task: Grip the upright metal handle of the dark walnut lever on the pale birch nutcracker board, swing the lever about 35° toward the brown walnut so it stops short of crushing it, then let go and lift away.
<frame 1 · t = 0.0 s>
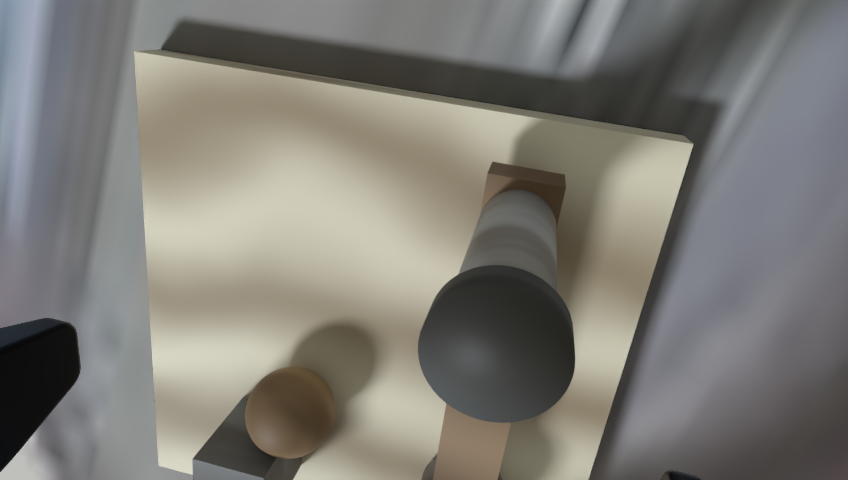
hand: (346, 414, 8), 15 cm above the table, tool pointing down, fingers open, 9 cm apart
nutcracker base: (377, 322, 25), on the table
lever: (471, 450, 18), point 7 cm above the table, hinge at 0.0°
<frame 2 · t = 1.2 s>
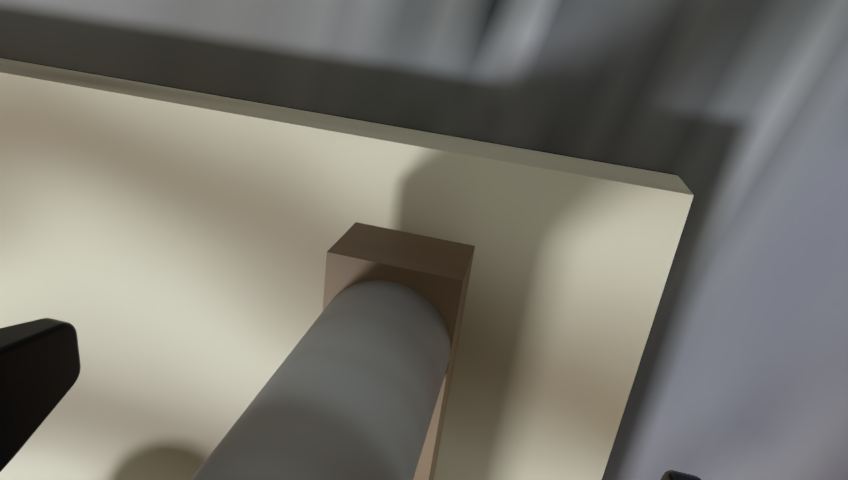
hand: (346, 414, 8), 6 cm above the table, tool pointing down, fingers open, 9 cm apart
nutcracker base: (236, 434, 17), on the table
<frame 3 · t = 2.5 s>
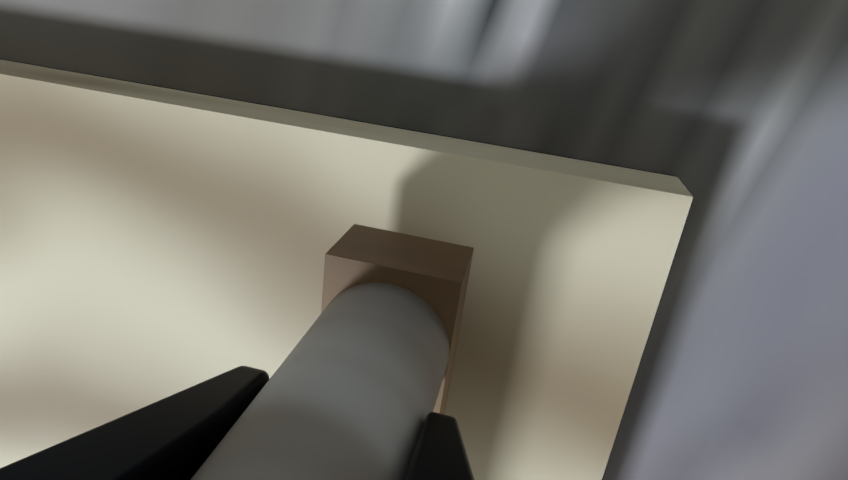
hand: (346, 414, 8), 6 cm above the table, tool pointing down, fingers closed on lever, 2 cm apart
nutcracker base: (235, 435, 17), on the table
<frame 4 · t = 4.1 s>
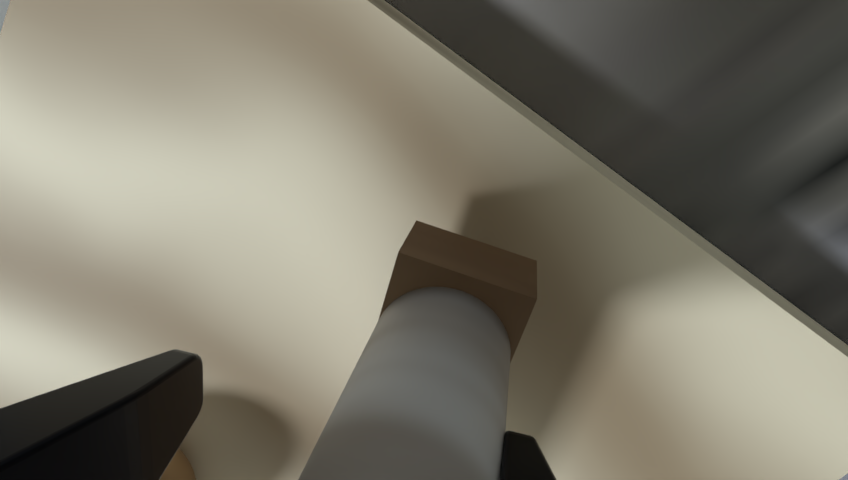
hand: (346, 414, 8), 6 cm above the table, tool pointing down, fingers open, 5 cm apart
nutcracker base: (307, 402, 16), on the table
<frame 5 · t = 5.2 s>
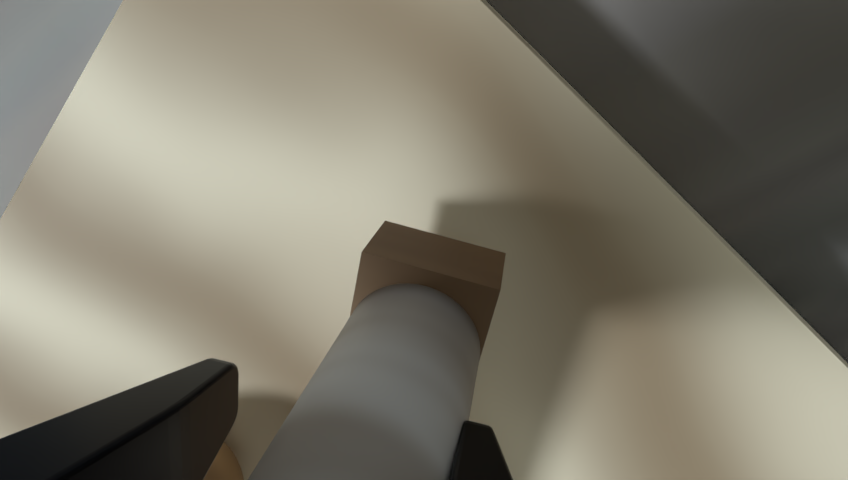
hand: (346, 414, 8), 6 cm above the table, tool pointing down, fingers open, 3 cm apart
nutcracker base: (357, 413, 16), on the table
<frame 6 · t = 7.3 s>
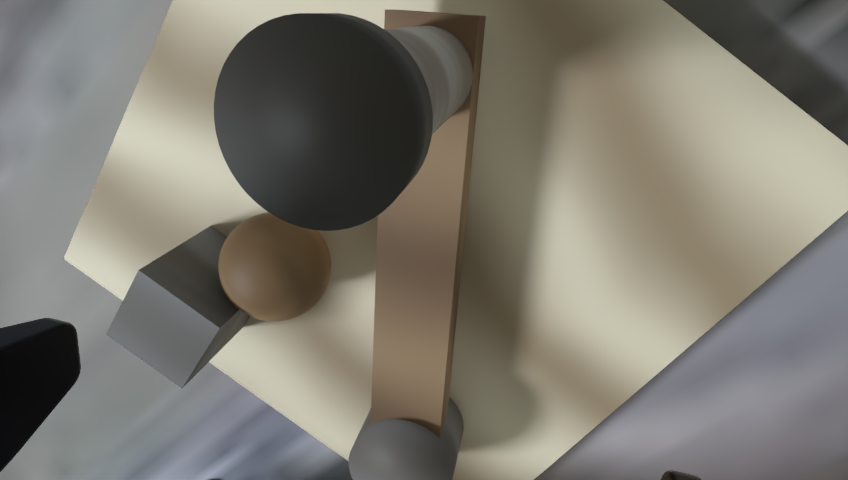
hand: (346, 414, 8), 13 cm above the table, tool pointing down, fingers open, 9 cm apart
nutcracker base: (408, 211, 21), on the table
lever: (388, 348, 15), point 7 cm above the table, hinge at 31.1°
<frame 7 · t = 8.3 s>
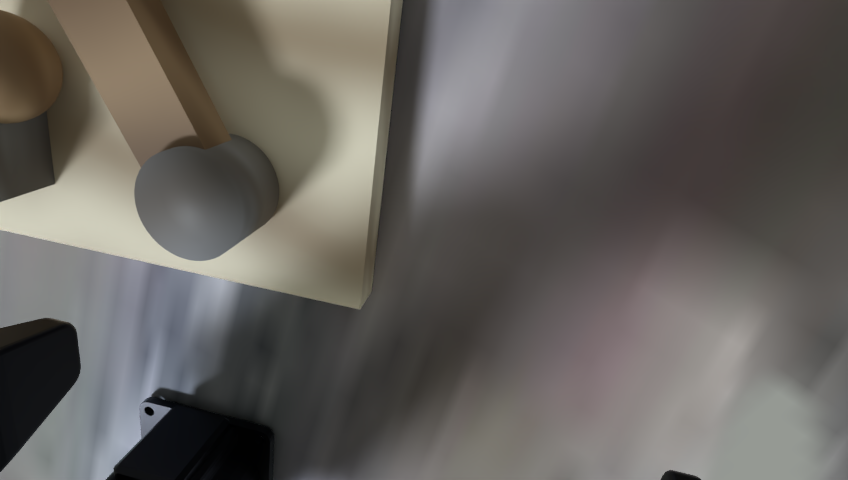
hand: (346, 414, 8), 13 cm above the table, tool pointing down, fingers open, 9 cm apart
lever: (5, 1, 14), point 7 cm above the table, hinge at 31.1°
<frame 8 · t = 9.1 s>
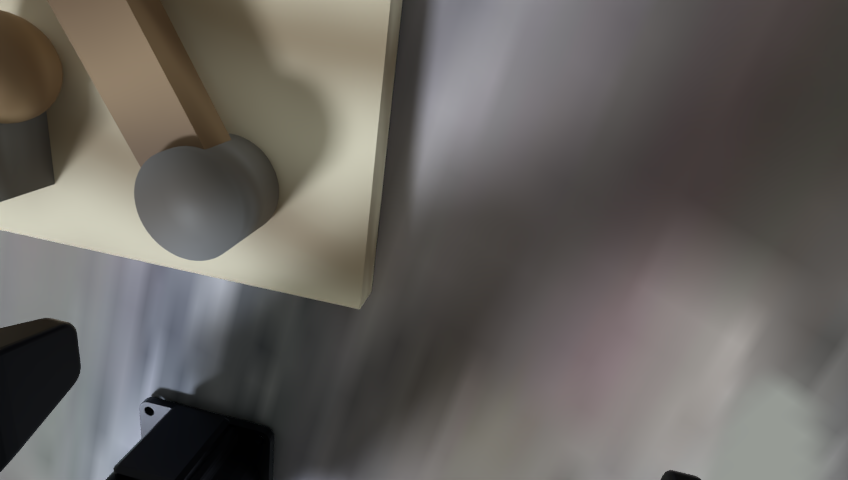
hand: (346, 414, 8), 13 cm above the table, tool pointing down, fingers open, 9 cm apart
lever: (5, 1, 14), point 7 cm above the table, hinge at 31.1°
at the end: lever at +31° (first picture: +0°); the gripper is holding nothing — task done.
